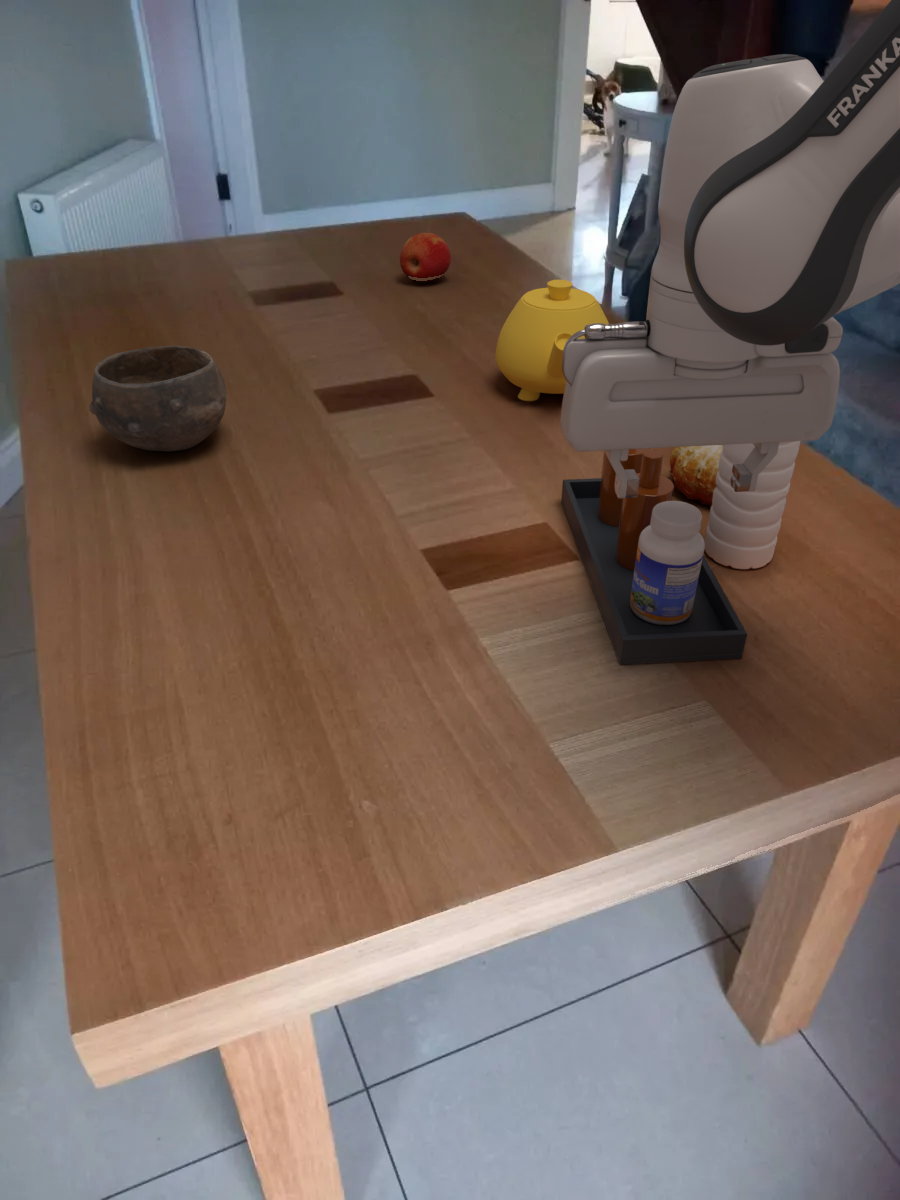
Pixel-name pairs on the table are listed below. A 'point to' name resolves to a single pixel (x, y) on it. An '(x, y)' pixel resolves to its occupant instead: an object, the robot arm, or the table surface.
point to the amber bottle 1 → (608, 497)
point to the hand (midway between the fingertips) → (684, 491)
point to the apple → (425, 256)
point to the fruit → (696, 471)
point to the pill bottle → (668, 564)
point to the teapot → (543, 336)
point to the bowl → (159, 397)
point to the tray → (633, 639)
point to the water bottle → (748, 508)
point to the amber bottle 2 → (641, 507)
